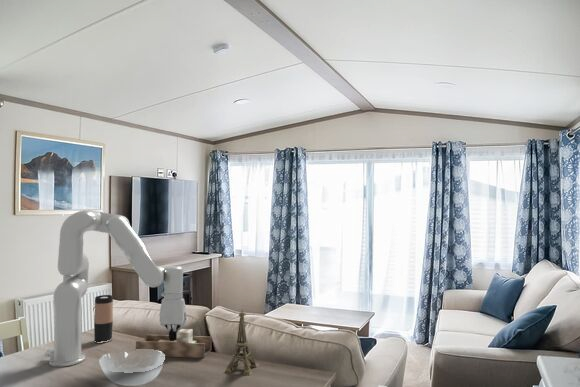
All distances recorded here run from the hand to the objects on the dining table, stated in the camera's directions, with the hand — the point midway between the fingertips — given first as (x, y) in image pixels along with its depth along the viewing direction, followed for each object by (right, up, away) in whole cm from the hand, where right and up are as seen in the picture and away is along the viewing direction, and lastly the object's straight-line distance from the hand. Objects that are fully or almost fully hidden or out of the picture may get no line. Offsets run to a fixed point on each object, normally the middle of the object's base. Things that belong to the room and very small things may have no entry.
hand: (173, 340), depth 170 cm
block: (+5, -1, 0) cm, 5 cm away
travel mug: (-36, -6, +15) cm, 39 cm away
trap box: (+1, -5, 0) cm, 5 cm away
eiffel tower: (+31, -5, -18) cm, 36 cm away
